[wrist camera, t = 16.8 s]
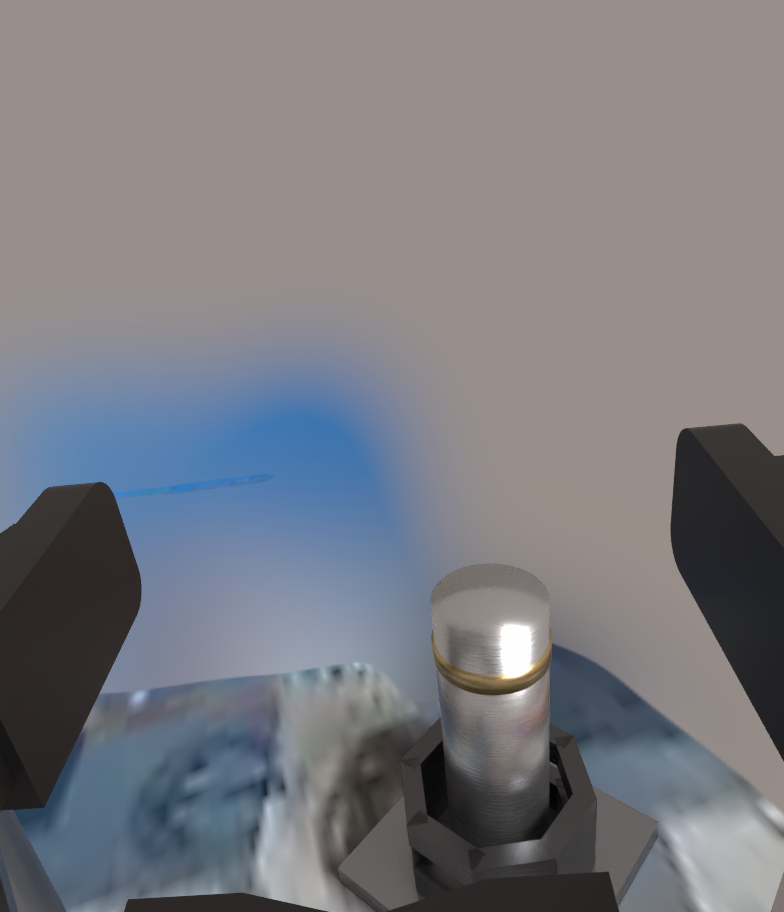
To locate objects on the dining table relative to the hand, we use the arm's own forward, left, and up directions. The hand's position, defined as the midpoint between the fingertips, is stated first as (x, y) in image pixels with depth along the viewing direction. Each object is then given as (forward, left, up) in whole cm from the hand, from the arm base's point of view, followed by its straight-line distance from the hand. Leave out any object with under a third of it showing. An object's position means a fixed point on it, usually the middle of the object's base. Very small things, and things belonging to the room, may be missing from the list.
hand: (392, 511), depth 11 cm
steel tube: (-9, +14, -31) cm, 35 cm away
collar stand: (-9, +14, -32) cm, 36 cm away
